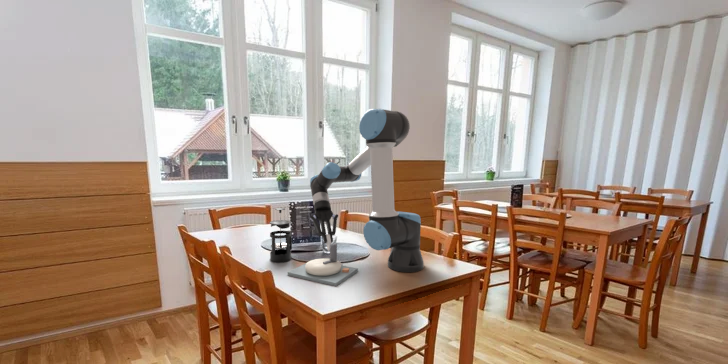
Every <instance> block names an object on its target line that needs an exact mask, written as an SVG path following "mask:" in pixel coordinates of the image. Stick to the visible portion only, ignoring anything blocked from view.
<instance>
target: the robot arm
mask: <svg viewBox="0 0 728 364" xmlns="http://www.w3.org/2000/svg"><path fill="white" fill-rule="evenodd" d="M358 125H359V126H358V128H359V129H358V131H359V134H360V135H361V137H362V138H363V139H364V140H365V145H366V147H365V148H363V150H361V151H360V153H359V154H357V155H356V156H355V157H354V158H353V159H352V160H351V161H350V162H349V163H348V164H346V165H345V166H340V165H339V164H338V163H334V162H333V161H330V162H327V163H326V164H325V166H323V167H322V169H321V171H320V172H319V173H318V174H315V175H313V176H311V178H310V180H309V186H310V191H311V196H312V204H313V210H314V214H313V215H310V218H309V221H310V222H311V223H312V224H313V227H314V229H315V231H316V233H317V236H318V237H322V239H323V244H326V249H327V251H328V252H330V244H333V242H334V238H333V236H335V235H336V232H337V220H338V218H339V214H334V212H333V211H332V208H331V203H330V197H329V192H328V190H329V188H330V187H331V186H332V184H337V183H347V182H351V183H353V182H357V181H359V180H360V179H361V177H362V173H363V172H364V171H366V170H367V169H368V168H369V167H370V175H371V176H370V177H371V179H370V180H371V182H370V183H371V201H372V202H371V203H372V210H371V212H370V213H369V214H368V221H367V222H366V223H365V225H364V226H363V229H362V230H363V231H362V232H363V237H364V240H365V242H366V244H368V246H369V247H370V248H371V249H372V250H375V251H383V250H384V251H385V250H389V249H390V250H391V251H390V253H389V256H388V259H387V267H388V268H389V269H390V270H393V271H396V272H402V273H416V272H419V271H422V270H423V269H424V264H425V263H424V259H423V256H422V251H421V228H422V227H421V226H422V223H421V221H422V220H421V216H420V215H419V214H417V213H414V212H406V211H397V210H396V209H395V187H394V186H395V185H394V161H393V148H396V147H397V146H399V145H400V144H401V143H402V142H403V141H404V140H405V139H406V138H407V136H408V135H409V132H410V127H411V126H410V121H409V119H408V117H407V116H406V115H405V114H404V113H402V112H401V111H397V110H390V109H383V108H370V109H368V110H367V111H365V112H364V113H363V115H362V116H361V117H360V120H359V123H358ZM331 219H332V220H333V221H332V226H331V221H330V220H331ZM318 221H319V222H318ZM319 224H320V225H319ZM326 229H327V230H326ZM391 247H392V249H391Z"/></svg>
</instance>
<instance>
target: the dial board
mask: <svg viewBox="0 0 728 364" xmlns="http://www.w3.org/2000/svg"><path fill="white" fill-rule="evenodd" d="M306 263H307V262H306ZM306 263H304V264H301V265H299V266H298V267H295V268H293V269H291V270H289V271H287V276H290V277H294V278H298V279H303V280H306V281H312V282H314V283H320V284H325V285H328V286H334V287H337V286H338V285H340V284H341V283H343V282H344V281H346V280H347V279H349V278H350V277H352V276H353V275H355V274H356V273H358V271H359V268H357V267H352V266H346V265H344V264H343V263H341V270H340V271H339V272H338V273H336V274H332V275H326V276H318V275H312V274H309V273H307V272H306Z"/></svg>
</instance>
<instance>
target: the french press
mask: <svg viewBox="0 0 728 364" xmlns="http://www.w3.org/2000/svg"><path fill="white" fill-rule="evenodd" d="M275 210H276V211H278V212H279V219H278V220H272V221H270V222H269V224H270V227H271V228H272V227H275V226H276V227H277V228H278V229H279V230H274V231H271V232H269V238H271V245H270V247H271V251H270V252H269V254H270V255H269V256H270V258H269V261H270V262H271V263H277V264H279V263H288V262H289V261H292V250H293V246H292V245H293V242H292V241H293V238H292V237H293V232H292V230H286V229H288V228H290V227H291V222H292V221H291V220H287V219H282V215H281V214H282V211H285V210H286V208H284V207H277V208H275ZM283 229H285V230H283ZM278 234H279V235H278ZM276 239H279V242H276ZM282 239H285V242H282Z"/></svg>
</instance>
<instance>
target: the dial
mask: <svg viewBox="0 0 728 364" xmlns="http://www.w3.org/2000/svg"><path fill="white" fill-rule="evenodd" d="M337 254H338V244H337V243H331V244H330V251H329V258H328V257H327V258H323V257H322V258H315V259H311V260H309V261H307V262H306V272H307V273H309V274H312V275H318V276H326V275H332V274H336V273H338V272H339V271H340V270H341V261H339V260H338V257H337V256H338V255H337Z"/></svg>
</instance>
